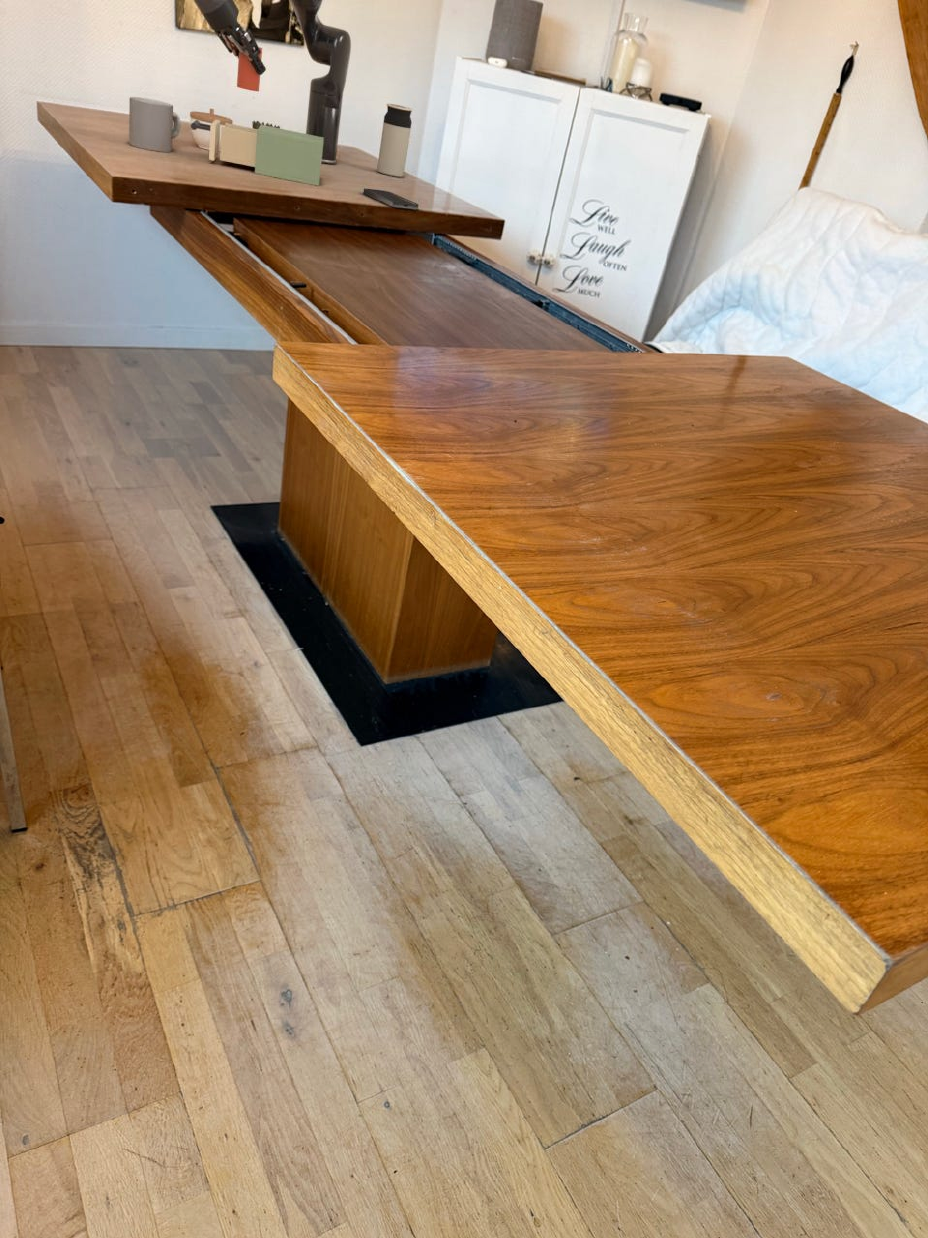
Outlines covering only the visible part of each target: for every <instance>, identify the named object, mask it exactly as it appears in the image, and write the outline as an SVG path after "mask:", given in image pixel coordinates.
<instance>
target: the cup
mask: <svg viewBox="0 0 928 1238" xmlns="http://www.w3.org/2000/svg"><path fill="white" fill-rule="evenodd" d="M251 124H252V128H253V129H259V127H260V125H265V126H270V127H275V128H280V129H281V126H280V125H276V124H275V125H274V126H273V123H269V122H267V123H265V122H264V121H262V122H260V121H259V120H256V121H255V120H253V121H252V122H251Z"/></svg>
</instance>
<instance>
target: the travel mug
mask: <svg viewBox="0 0 928 1238" xmlns="http://www.w3.org/2000/svg"><path fill="white" fill-rule="evenodd" d="M386 106H387V112H386V113H385V115H383V122H382V131H381V138H380V146H379V153H378V161H377V168H376V171H377V172H378V173H379V174H382V175H384V176H388V177H389V176H390V177H394V178H402V177H404V174H405V169H406V162H407V155H408V150H409V142H410V135H411V129H412V123H413V122H412V118H411V115H412V112H413V109H412V108H411V107H408V106H403V105H399V104H394V103H386Z"/></svg>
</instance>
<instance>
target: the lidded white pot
mask: <svg viewBox="0 0 928 1238" xmlns="http://www.w3.org/2000/svg"><path fill="white" fill-rule="evenodd" d="M214 113H215V109H214V108H209V112H203V111H194V110H193V111H190V112H189V117H190V118H189V119H190V120H189V125H190V132H191V136H192V138H193V140H194V142H195V143H196V144H197V147H198V148H200V149H204V150H208V151H209V147H210V131H207V130H203V129H198V128H197V129H196V130H193V129H192V128H191V124H192V123H193V122H194V121H196V120H198V121H199V122H200V123H203V124H207V125H211V123H212V122H213V121H215V120H220V138H219V152H220V148H221V129H222V127H225V123H229V124H233V119H231V118H230V117H227V116H223V115H220V114H219V115H218V114H216V113H215V114H214Z"/></svg>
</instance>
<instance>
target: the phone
mask: <svg viewBox="0 0 928 1238" xmlns="http://www.w3.org/2000/svg"><path fill="white" fill-rule="evenodd" d="M362 193H363V194H364V195H366V196H368V197H369V198H372V199H374V200H377V201H378V202H381V203H383V204H385V205H387V206H389V207H392V208H397V209H406V210H415V211H416V210H419V204H418V203H416V202H414V201H411V200H410V199H407V198H405V197H403V196H400V195H398V194H397V193H393V192H391V191H388V190H382V189H373V188H363V192H362Z"/></svg>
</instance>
